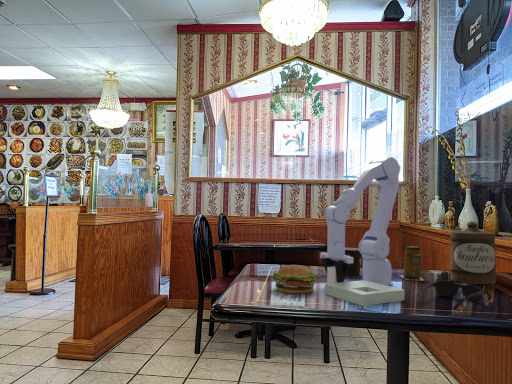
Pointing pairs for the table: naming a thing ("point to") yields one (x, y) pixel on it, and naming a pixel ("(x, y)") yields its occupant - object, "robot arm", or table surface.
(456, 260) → the wooden container
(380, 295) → the pale green square slab
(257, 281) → the table surface
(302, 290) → the food
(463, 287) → the sunglasses
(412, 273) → the condiment
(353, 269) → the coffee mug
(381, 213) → the robot arm
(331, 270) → the block
